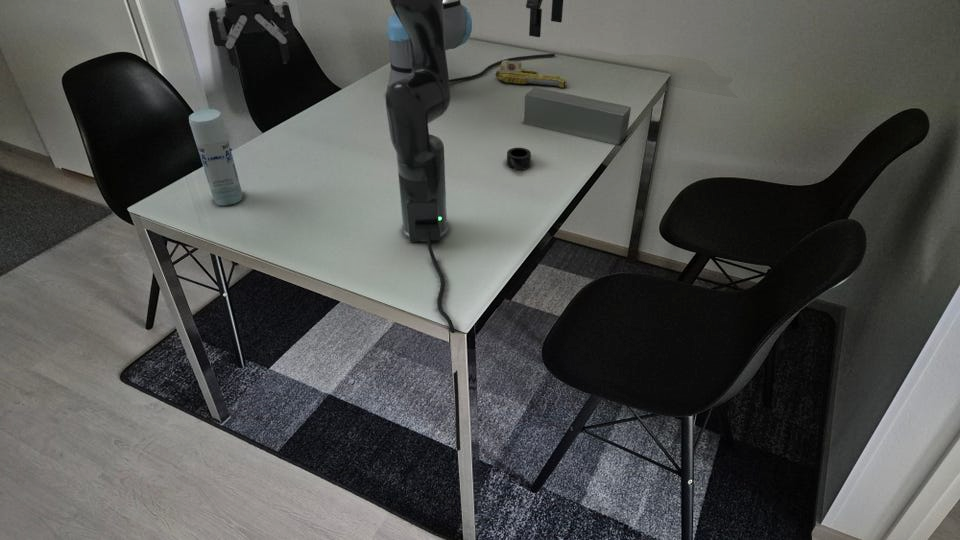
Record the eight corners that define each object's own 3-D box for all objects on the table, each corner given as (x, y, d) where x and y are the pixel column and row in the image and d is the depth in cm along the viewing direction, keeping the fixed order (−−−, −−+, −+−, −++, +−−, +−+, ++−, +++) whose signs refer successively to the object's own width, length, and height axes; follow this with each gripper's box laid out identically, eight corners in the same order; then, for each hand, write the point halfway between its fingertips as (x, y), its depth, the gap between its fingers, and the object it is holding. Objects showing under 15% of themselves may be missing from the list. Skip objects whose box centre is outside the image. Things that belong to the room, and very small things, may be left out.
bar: (626, 136, 167) (631, 106, 162) (619, 145, 163) (623, 115, 158) (532, 115, 178) (534, 86, 173) (523, 123, 174) (525, 94, 169)
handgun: (569, 72, 204) (565, 89, 193) (500, 66, 208) (492, 82, 196) (570, 65, 203) (566, 81, 191) (501, 58, 206) (492, 74, 195)
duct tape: (494, 167, 154) (494, 156, 152) (516, 151, 160) (516, 141, 158) (520, 176, 150) (521, 165, 148) (542, 160, 156) (543, 149, 155)
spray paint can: (212, 194, 144) (187, 111, 131) (242, 188, 145) (220, 107, 133) (214, 208, 139) (188, 124, 127) (244, 202, 141) (222, 119, 128)
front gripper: (282, -37, 112) (298, 54, 122) (198, -31, 109) (221, 62, 119) (285, -27, 106) (301, 67, 116) (195, -21, 103) (221, 76, 113)
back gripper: (557, -76, 156) (551, 13, 169) (513, -58, 138) (510, 40, 152) (586, -73, 153) (577, 17, 166) (544, -54, 136) (539, 45, 149)
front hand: (261, 64), depth 117 cm, fingers open, 8 cm apart
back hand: (545, 28), depth 159 cm, fingers open, 13 cm apart
